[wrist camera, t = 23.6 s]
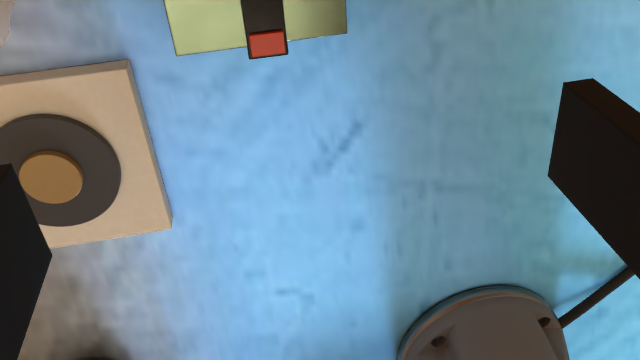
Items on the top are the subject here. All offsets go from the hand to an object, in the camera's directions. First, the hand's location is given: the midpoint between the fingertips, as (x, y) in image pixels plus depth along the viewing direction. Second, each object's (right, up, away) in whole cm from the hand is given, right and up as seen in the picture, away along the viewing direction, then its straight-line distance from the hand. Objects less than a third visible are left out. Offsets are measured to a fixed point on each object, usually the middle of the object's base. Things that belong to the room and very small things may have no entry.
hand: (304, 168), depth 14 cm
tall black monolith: (-3, +11, +17) cm, 21 cm away
